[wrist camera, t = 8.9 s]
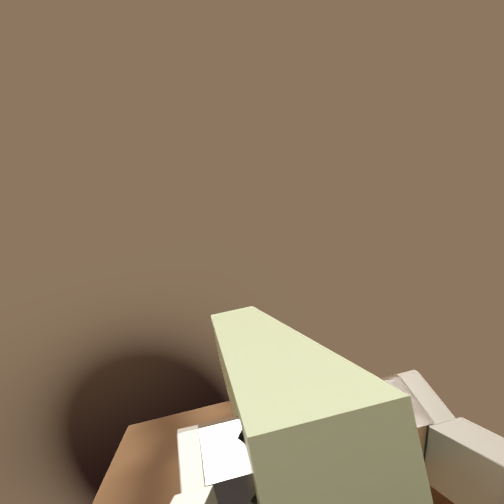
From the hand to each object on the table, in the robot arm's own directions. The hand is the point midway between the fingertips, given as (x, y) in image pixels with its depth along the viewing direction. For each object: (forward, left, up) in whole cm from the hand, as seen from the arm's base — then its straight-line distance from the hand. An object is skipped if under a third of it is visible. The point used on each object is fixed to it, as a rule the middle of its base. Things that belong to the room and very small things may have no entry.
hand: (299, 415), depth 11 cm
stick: (+2, +8, -2) cm, 8 cm away
